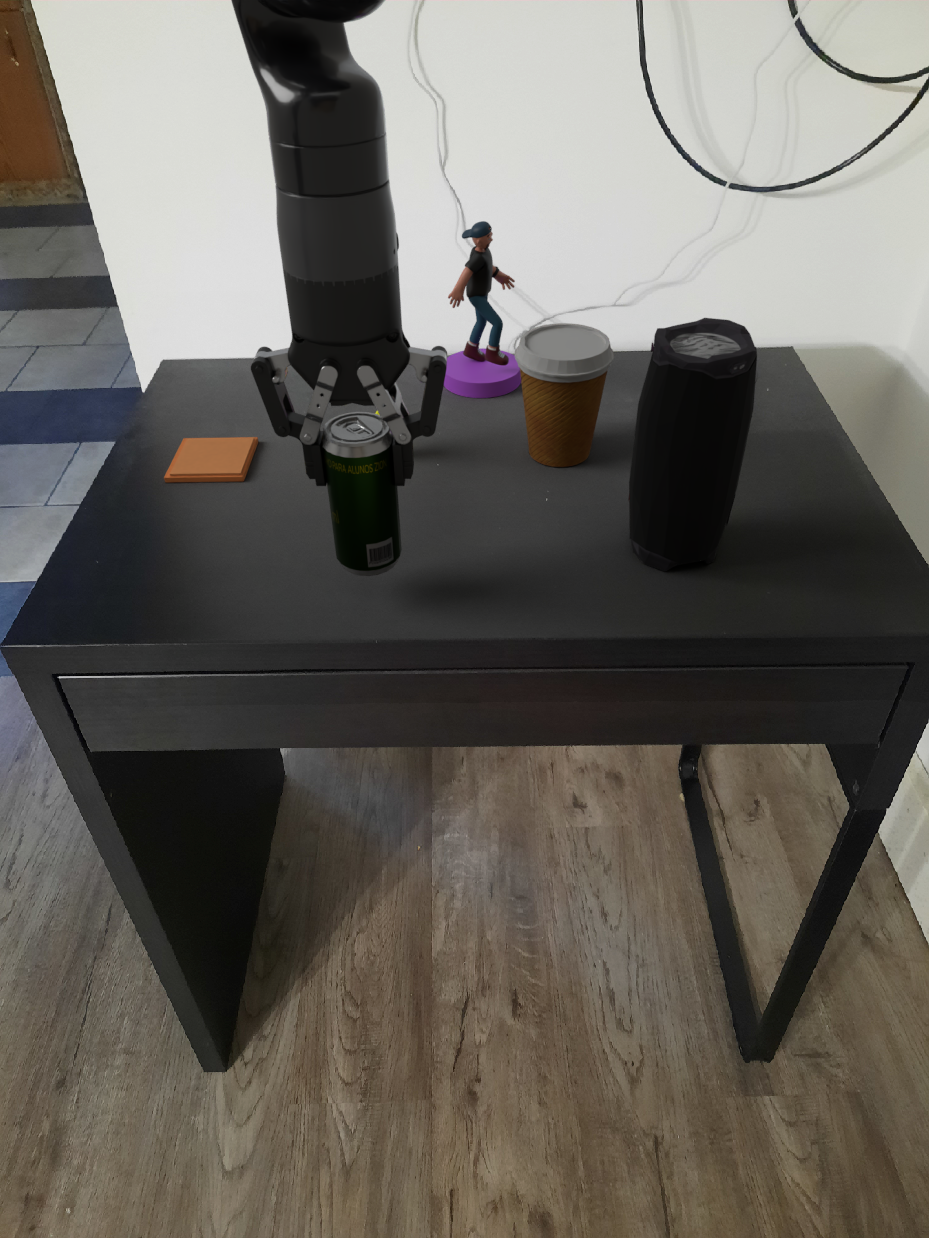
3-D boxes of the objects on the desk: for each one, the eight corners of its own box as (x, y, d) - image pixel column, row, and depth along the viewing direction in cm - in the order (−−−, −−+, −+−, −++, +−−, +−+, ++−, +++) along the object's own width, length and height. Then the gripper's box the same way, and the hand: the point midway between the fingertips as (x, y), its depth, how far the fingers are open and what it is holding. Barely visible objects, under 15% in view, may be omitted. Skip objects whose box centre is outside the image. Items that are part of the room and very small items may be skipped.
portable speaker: (605, 556, 80) (625, 344, 67) (654, 508, 85) (682, 304, 73) (694, 591, 76) (734, 372, 63) (740, 538, 81) (785, 327, 69)
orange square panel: (165, 482, 91) (162, 475, 90) (184, 443, 97) (182, 435, 96) (243, 481, 91) (242, 474, 90) (258, 442, 97) (257, 434, 96)
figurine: (512, 401, 102) (515, 237, 91) (433, 394, 104) (425, 232, 93) (527, 366, 109) (531, 209, 98) (453, 360, 111) (448, 205, 99)
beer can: (415, 561, 74) (407, 429, 66) (360, 587, 71) (346, 453, 64) (377, 532, 77) (365, 403, 69) (324, 556, 75) (306, 425, 67)
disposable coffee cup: (620, 466, 91) (632, 353, 83) (532, 483, 89) (536, 369, 81) (583, 423, 98) (590, 315, 90) (500, 438, 96) (500, 329, 88)
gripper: (217, 277, 56) (260, 508, 67) (449, 276, 56) (454, 507, 66) (241, 238, 61) (277, 456, 72) (451, 236, 61) (456, 456, 72)
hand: (362, 480), depth 69 cm, fingers closed on beer can, 5 cm apart
